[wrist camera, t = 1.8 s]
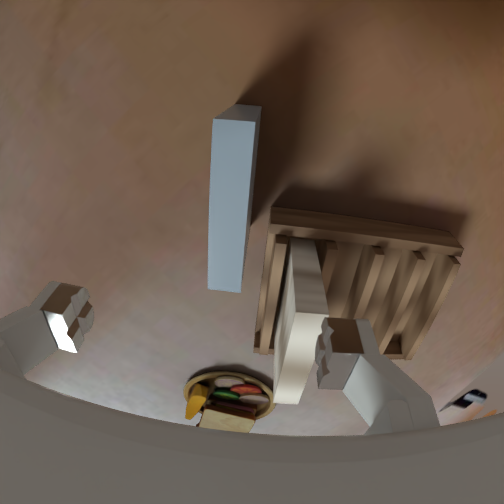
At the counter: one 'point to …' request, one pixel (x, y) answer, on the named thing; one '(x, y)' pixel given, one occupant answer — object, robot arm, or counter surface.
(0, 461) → the robot arm
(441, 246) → the rack
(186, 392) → the toy sandwich meal
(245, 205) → the grey upright panel
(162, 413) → the counter surface
